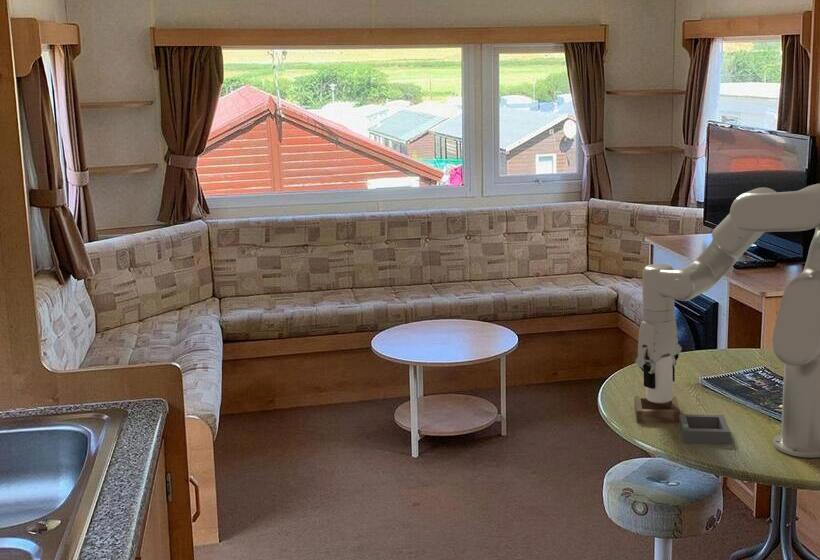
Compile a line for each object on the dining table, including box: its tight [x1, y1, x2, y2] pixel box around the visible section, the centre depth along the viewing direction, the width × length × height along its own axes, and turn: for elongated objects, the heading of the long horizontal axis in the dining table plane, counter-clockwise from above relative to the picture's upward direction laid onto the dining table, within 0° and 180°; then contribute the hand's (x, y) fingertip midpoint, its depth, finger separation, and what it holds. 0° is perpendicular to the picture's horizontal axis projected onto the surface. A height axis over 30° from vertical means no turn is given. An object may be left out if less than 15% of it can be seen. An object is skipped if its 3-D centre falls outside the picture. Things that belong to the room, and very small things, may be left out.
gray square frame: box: [678, 413, 731, 445], centre depth 225 cm, size 10×10×4 cm
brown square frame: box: [633, 395, 681, 424], centre depth 238 cm, size 10×10×3 cm
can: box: [645, 354, 674, 404], centre depth 236 cm, size 6×6×12 cm
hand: (659, 383), depth 236 cm, fingers closed on can, 6 cm apart
